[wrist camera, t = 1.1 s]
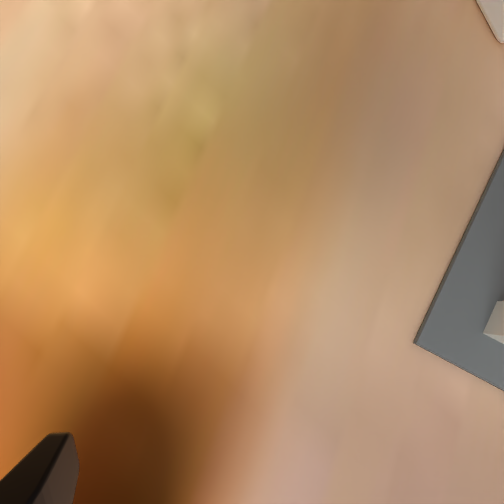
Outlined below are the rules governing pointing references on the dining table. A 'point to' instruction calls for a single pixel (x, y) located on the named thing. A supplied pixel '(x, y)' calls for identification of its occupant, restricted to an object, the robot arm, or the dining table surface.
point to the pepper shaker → (494, 16)
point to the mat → (472, 292)
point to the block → (496, 323)
